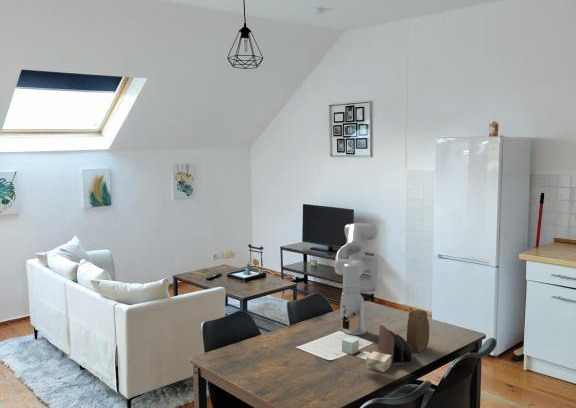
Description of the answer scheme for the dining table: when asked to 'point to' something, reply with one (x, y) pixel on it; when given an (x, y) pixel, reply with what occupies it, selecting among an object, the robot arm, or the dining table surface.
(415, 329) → the block
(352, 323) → the terracotta cube
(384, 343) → the letter holder
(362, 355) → the card
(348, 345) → the sage cube
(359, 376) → the dining table surface
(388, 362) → the birch block
